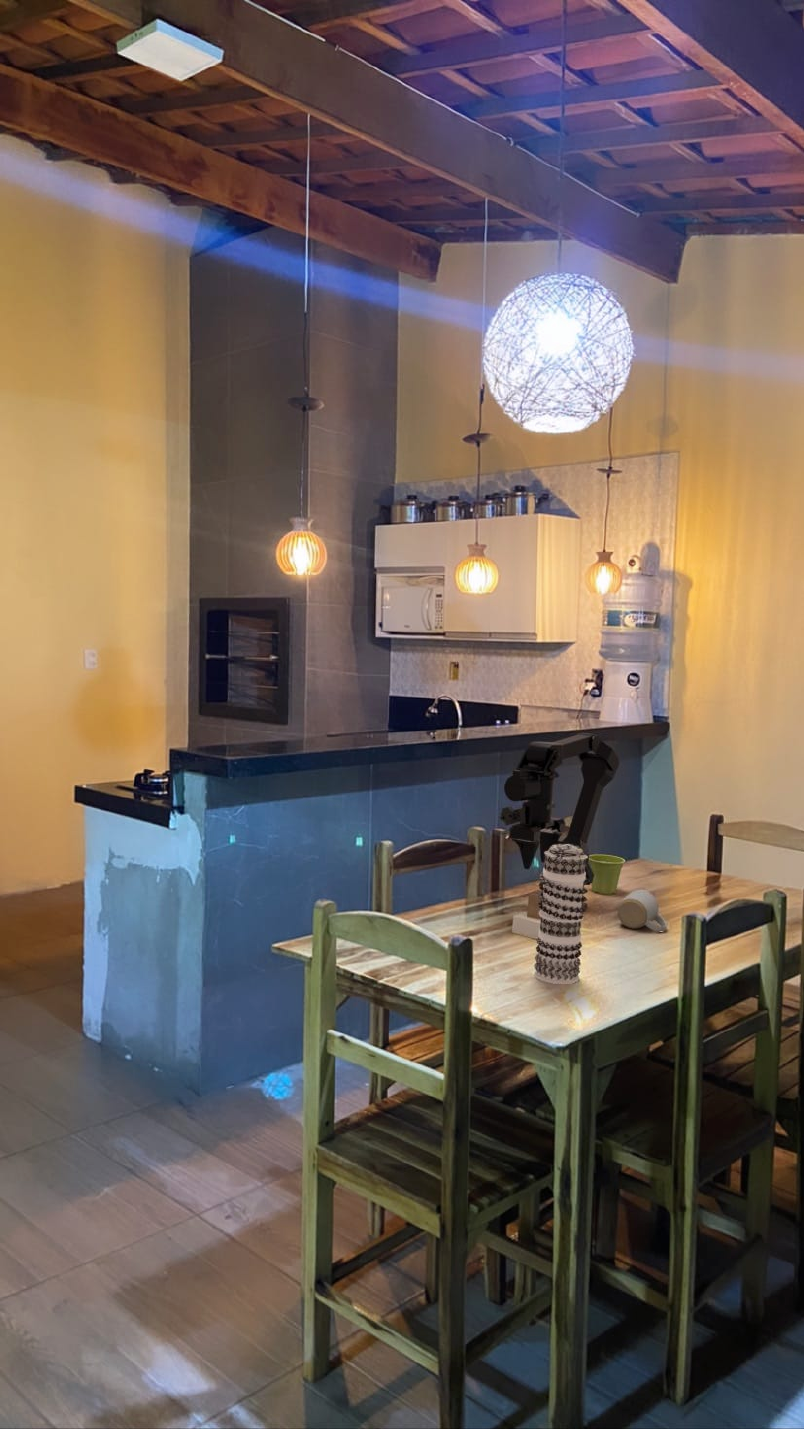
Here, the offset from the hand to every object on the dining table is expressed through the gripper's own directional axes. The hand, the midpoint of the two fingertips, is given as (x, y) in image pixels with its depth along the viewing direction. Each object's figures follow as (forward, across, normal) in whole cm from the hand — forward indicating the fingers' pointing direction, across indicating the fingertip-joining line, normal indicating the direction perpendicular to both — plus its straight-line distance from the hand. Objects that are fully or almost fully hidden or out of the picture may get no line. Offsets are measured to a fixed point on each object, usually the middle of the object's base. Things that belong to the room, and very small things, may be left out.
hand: (535, 865), depth 232 cm
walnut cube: (+8, +10, +7) cm, 15 cm away
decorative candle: (+12, +35, +21) cm, 43 cm away
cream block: (+12, +10, +7) cm, 17 cm away
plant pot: (+12, -36, +4) cm, 38 cm away
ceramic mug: (+12, -11, +22) cm, 28 cm away
